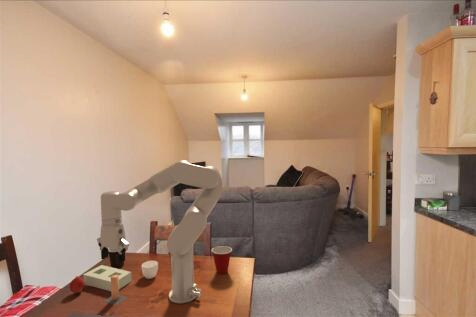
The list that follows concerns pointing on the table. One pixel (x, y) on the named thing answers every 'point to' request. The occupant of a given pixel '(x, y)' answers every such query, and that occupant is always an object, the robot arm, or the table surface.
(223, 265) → the plastic cup
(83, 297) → the table surface
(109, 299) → the mat
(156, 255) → the table surface
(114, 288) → the peg
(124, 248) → the robot arm
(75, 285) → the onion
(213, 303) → the table surface
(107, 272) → the socket block
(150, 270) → the cup
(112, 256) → the coffee mug
